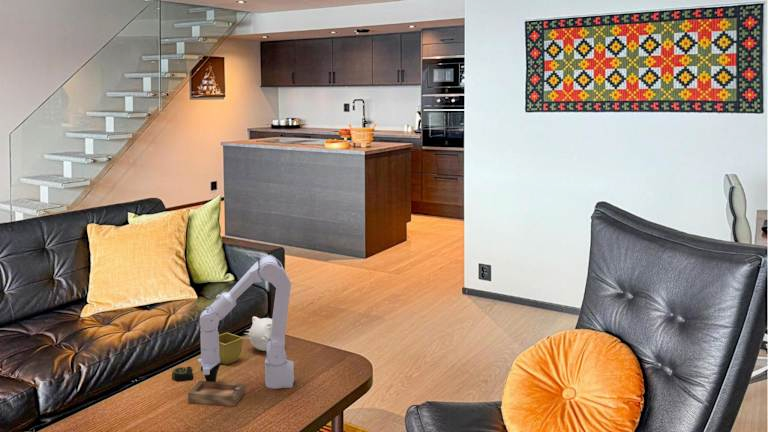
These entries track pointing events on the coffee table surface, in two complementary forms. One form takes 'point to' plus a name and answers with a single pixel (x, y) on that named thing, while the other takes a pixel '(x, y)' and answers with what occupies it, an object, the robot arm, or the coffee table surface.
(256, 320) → the cat head
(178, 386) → the coffee table surface
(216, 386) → the wooden tray
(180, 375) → the tape measure
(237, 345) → the flower pot
